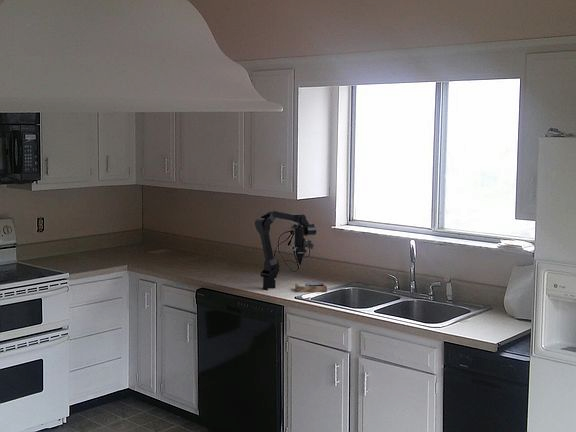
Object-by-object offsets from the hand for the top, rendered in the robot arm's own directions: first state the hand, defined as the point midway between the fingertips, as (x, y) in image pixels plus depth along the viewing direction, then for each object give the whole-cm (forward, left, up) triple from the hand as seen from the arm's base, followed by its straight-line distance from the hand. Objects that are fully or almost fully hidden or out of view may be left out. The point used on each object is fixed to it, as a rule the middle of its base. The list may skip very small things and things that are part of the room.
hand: (298, 263), depth 425 cm
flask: (+7, -22, -13) cm, 26 cm away
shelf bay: (+4, -20, -12) cm, 24 cm away
